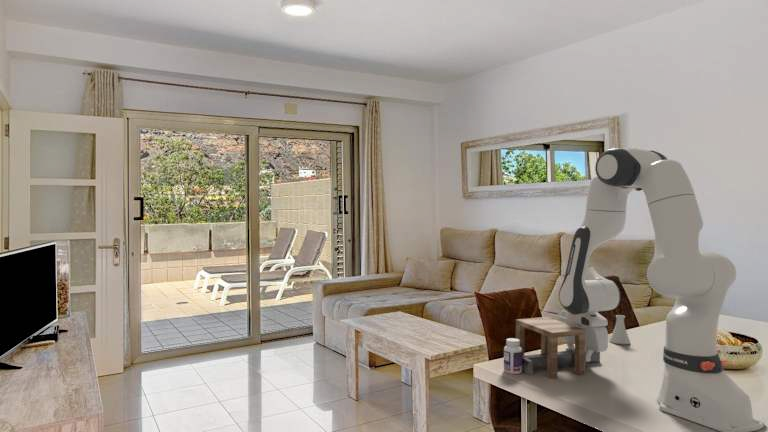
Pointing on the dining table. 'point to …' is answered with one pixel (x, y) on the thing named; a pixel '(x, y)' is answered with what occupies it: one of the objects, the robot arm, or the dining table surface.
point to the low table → (553, 341)
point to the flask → (620, 332)
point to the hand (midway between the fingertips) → (579, 358)
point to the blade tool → (563, 360)
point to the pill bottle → (513, 356)
